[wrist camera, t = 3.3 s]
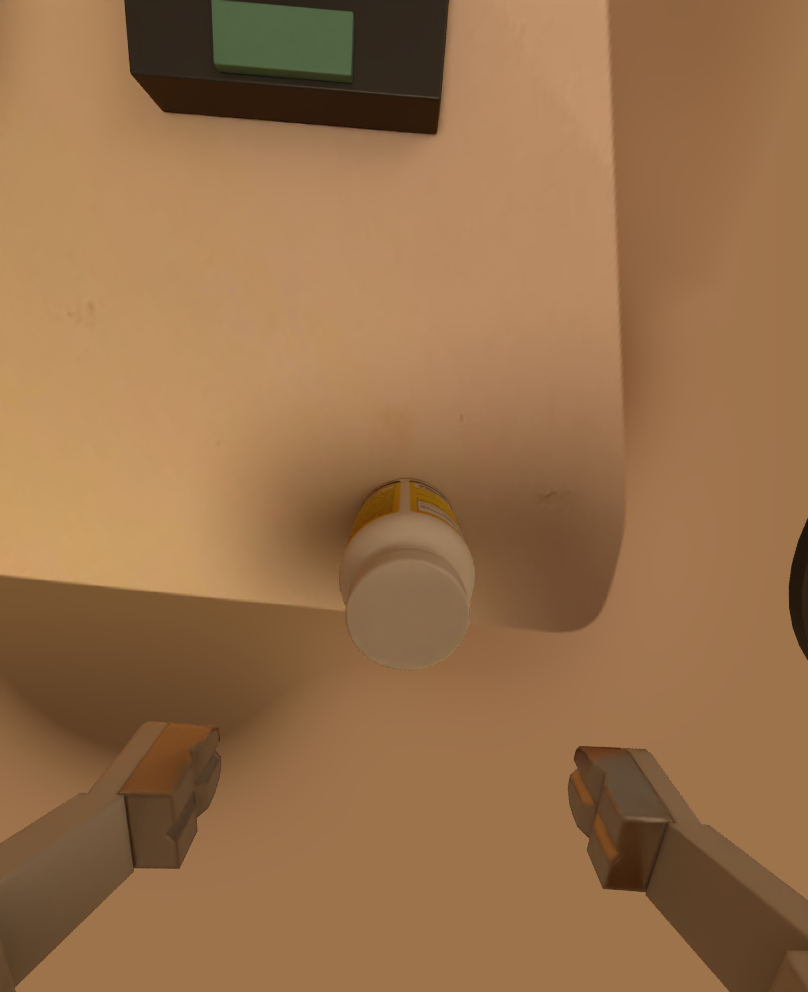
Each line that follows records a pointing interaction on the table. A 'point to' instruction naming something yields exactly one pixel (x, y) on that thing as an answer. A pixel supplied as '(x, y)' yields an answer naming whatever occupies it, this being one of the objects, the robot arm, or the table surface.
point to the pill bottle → (406, 577)
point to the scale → (293, 59)
